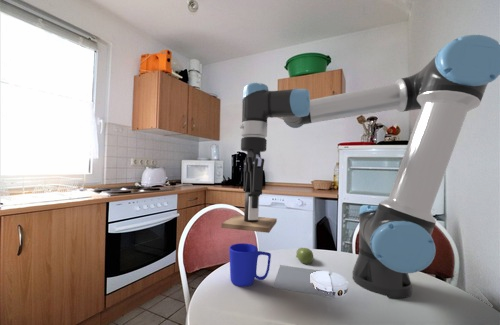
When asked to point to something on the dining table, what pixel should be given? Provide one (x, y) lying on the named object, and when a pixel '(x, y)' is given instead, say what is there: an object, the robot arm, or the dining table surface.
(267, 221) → the lid
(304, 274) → the mat
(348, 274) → the dining table surface
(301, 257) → the pear
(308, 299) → the dining table surface
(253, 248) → the mug
